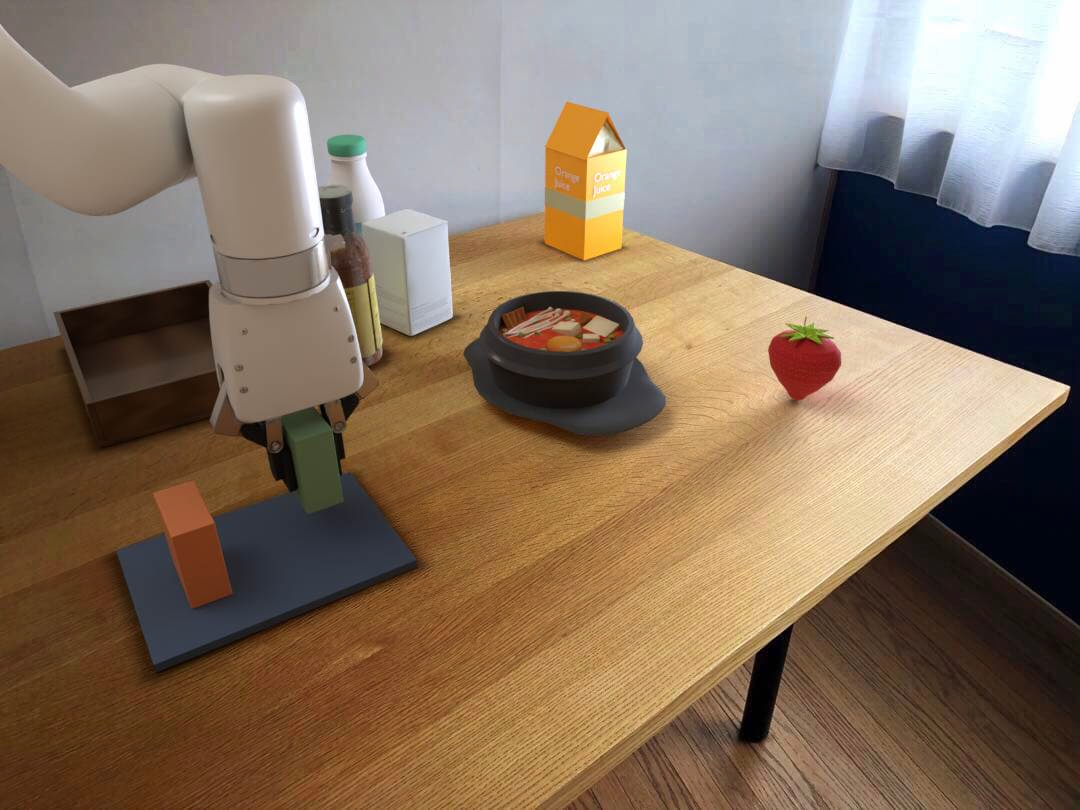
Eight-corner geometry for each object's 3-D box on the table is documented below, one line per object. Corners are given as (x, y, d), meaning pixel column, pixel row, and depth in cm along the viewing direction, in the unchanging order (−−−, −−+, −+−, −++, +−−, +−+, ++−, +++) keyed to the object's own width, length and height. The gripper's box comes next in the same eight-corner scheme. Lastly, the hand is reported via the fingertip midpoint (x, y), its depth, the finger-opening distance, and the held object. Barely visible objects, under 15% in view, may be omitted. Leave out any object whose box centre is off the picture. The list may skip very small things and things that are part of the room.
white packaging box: (455, 318, 107) (450, 220, 100) (409, 338, 102) (401, 237, 96) (415, 301, 111) (408, 206, 105) (370, 319, 107) (359, 222, 100)
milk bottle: (373, 274, 118) (358, 126, 108) (403, 293, 113) (390, 139, 103) (323, 289, 114) (301, 136, 104) (351, 309, 109) (332, 150, 99)
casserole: (425, 369, 96) (419, 301, 92) (555, 325, 106) (556, 260, 101) (565, 476, 79) (567, 398, 75) (705, 411, 89) (714, 339, 84)
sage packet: (307, 514, 68) (294, 441, 64) (283, 476, 72) (269, 406, 69) (343, 502, 69) (332, 429, 66) (317, 465, 74) (305, 395, 70)
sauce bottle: (354, 341, 102) (333, 175, 91) (395, 354, 99) (378, 184, 89) (315, 364, 97) (288, 192, 86) (357, 379, 94) (335, 202, 84)
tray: (100, 448, 83) (86, 404, 80) (65, 351, 99) (53, 312, 97) (275, 398, 91) (268, 357, 88) (216, 316, 107) (208, 279, 105)
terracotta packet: (192, 609, 64) (171, 537, 60) (173, 562, 68) (152, 492, 64) (232, 594, 65) (214, 522, 61) (212, 549, 69) (193, 479, 66)
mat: (156, 673, 60) (153, 665, 59) (118, 557, 70) (115, 549, 69) (417, 567, 69) (416, 559, 68) (351, 478, 79) (350, 471, 78)
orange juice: (582, 231, 133) (586, 97, 122) (622, 248, 127) (630, 108, 117) (543, 243, 129) (544, 105, 118) (583, 261, 123) (588, 117, 112)
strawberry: (818, 424, 87) (836, 336, 82) (750, 399, 91) (763, 314, 86) (841, 400, 91) (860, 315, 86) (775, 377, 95) (789, 294, 90)
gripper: (361, 226, 67) (384, 424, 77) (139, 271, 59) (196, 484, 69) (402, 257, 61) (421, 466, 71) (164, 311, 54) (221, 536, 64)
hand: (310, 473), depth 70 cm, fingers closed on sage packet, 3 cm apart
